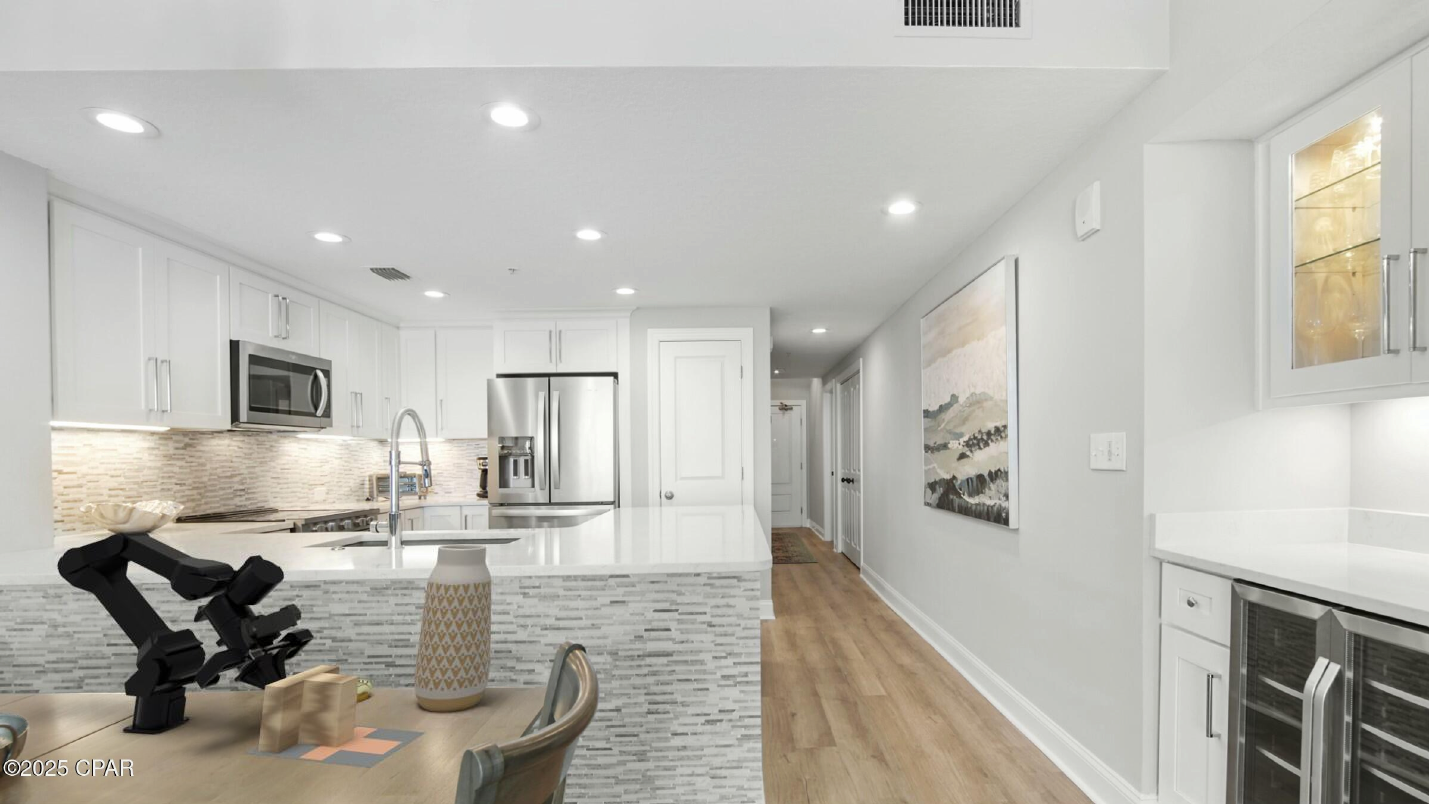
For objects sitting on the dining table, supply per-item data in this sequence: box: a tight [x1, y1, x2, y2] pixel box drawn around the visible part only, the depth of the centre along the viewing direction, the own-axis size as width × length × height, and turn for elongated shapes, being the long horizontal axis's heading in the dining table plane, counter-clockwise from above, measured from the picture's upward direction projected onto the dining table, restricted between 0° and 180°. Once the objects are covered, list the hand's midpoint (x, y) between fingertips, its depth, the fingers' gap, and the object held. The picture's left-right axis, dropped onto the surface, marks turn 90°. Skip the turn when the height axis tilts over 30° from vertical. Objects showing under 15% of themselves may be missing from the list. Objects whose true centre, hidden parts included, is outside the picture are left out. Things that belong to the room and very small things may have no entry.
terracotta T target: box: [299, 727, 402, 760], centre depth 105 cm, size 12×13×1 cm
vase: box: [414, 543, 492, 713], centre depth 128 cm, size 14×14×31 cm
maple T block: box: [258, 664, 360, 754], centre depth 107 cm, size 10×12×10 cm
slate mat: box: [244, 724, 426, 769], centre depth 106 cm, size 22×14×1 cm, turn 81°
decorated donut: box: [357, 676, 373, 703], centre depth 127 cm, size 10×11×4 cm
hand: (285, 695), depth 109 cm, fingers closed
